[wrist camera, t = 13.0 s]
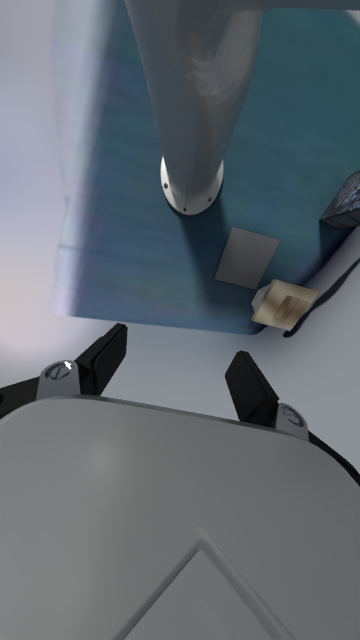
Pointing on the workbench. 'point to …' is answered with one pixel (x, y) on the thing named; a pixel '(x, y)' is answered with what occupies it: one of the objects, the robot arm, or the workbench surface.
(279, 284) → the beige plate with ridge
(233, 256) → the mat
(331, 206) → the box
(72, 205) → the workbench surface
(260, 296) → the bowl
